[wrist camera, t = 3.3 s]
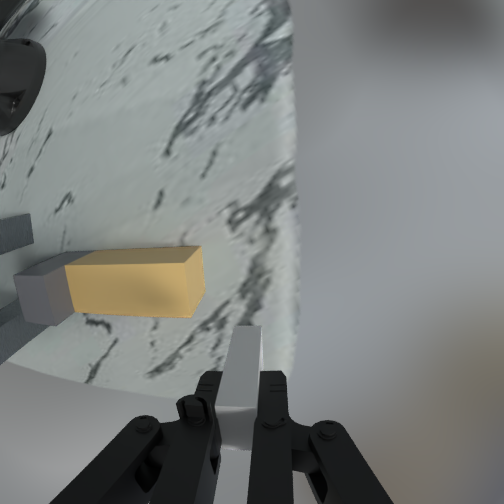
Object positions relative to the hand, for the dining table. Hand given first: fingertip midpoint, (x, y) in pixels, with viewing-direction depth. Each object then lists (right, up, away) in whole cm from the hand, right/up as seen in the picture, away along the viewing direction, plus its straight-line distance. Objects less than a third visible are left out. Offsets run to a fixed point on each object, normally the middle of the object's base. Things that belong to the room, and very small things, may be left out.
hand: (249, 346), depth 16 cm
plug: (-14, +3, +15) cm, 21 cm away
